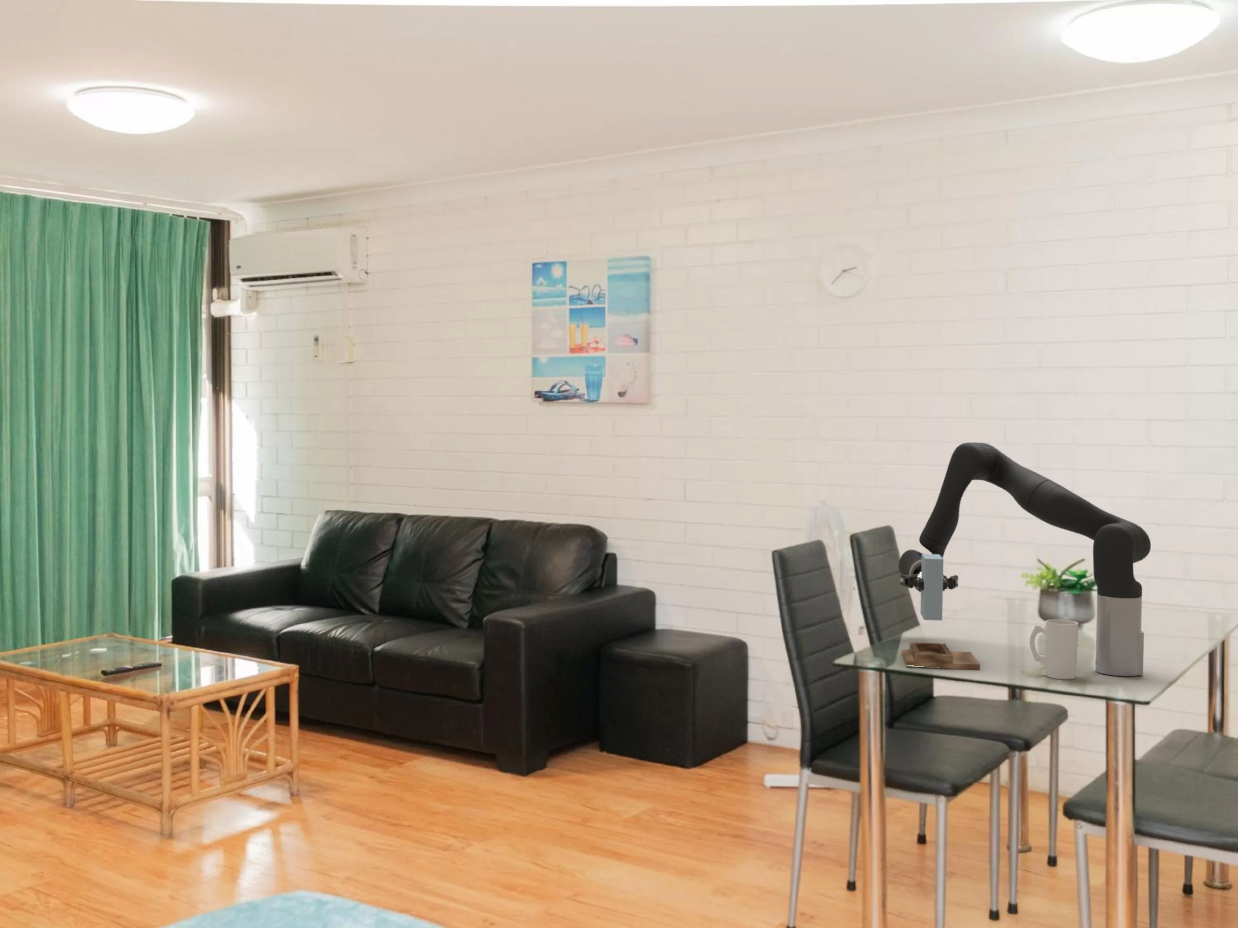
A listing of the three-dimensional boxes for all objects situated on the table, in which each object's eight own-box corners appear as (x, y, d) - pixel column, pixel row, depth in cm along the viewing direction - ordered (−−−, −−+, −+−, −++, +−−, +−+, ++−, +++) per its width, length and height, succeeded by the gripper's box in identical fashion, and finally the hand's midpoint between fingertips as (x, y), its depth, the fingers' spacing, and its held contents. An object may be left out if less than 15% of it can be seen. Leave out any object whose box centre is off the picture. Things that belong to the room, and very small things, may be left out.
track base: (970, 656, 288) (970, 644, 288) (979, 669, 273) (980, 656, 273) (901, 654, 290) (901, 641, 290) (906, 667, 275) (906, 653, 275)
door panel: (938, 613, 286) (939, 554, 285) (942, 620, 277) (943, 559, 276) (920, 613, 287) (921, 553, 286) (924, 619, 278) (925, 558, 277)
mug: (1079, 675, 268) (1080, 621, 267) (1074, 681, 262) (1075, 625, 262) (1032, 670, 273) (1033, 617, 272) (1026, 675, 267) (1027, 621, 267)
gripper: (896, 559, 297) (901, 568, 280) (956, 561, 294) (965, 570, 277) (895, 590, 297) (900, 601, 280) (955, 592, 295) (964, 603, 278)
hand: (933, 585), depth 279 cm, fingers closed on door panel, 4 cm apart
